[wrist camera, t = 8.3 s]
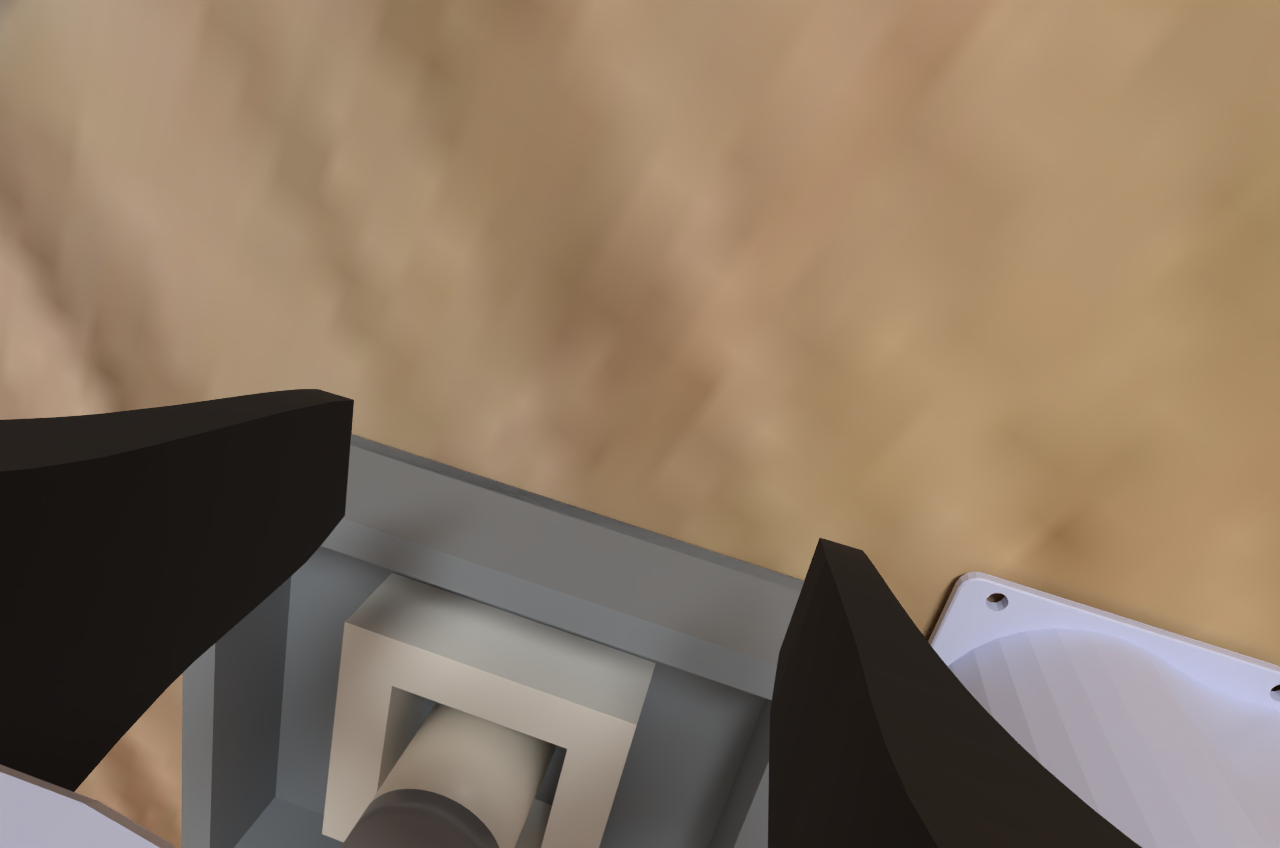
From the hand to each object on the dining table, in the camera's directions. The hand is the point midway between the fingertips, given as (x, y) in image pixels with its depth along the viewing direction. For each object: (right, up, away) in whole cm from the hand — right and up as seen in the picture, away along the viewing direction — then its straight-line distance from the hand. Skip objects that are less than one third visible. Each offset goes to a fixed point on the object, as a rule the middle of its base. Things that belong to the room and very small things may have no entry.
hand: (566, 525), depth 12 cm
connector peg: (-3, -8, +13) cm, 16 cm away
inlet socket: (-3, -8, +14) cm, 16 cm away
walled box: (-3, -8, +14) cm, 16 cm away
